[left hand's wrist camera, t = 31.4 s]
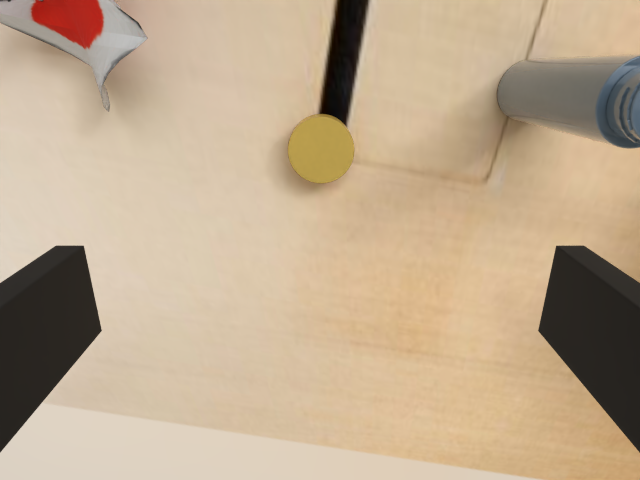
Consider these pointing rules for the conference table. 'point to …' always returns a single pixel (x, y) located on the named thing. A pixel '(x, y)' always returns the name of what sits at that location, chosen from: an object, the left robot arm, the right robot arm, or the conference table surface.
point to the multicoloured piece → (78, 30)
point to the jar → (577, 96)
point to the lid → (321, 148)
